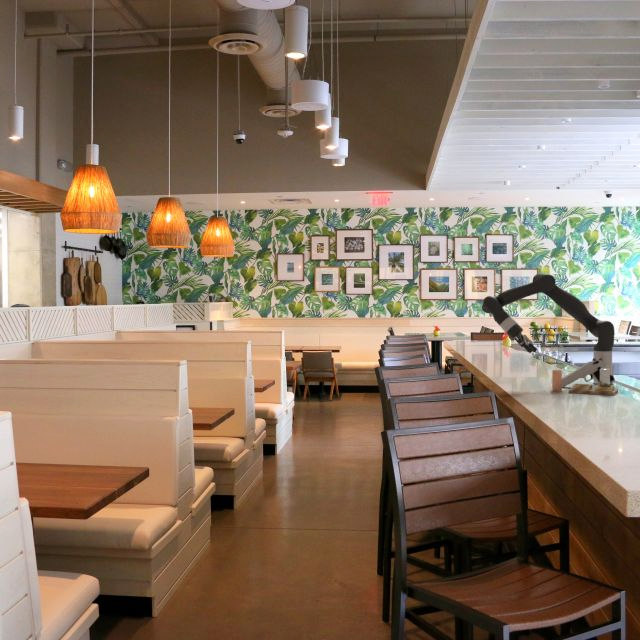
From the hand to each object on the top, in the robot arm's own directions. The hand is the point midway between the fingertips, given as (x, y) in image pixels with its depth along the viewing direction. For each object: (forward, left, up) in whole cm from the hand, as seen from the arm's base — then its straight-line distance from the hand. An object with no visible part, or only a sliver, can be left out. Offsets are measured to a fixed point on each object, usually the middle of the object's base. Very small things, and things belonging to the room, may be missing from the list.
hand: (533, 351), depth 366 cm
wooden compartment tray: (-15, +25, -19) cm, 34 cm away
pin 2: (-18, +29, -17) cm, 38 cm away
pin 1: (-5, +11, -19) cm, 22 cm away
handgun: (-28, +6, -19) cm, 34 cm away
